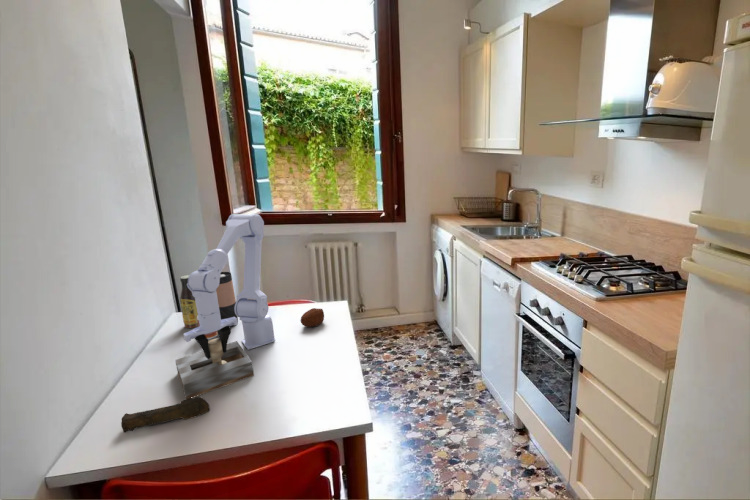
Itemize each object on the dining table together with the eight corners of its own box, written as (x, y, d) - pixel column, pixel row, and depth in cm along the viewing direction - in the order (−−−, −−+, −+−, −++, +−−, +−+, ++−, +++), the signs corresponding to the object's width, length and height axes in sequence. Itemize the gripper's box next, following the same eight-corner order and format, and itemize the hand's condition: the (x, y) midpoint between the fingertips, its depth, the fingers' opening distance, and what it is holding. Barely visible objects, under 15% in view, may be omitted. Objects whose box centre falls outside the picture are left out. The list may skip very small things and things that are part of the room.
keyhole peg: (223, 362, 116) (218, 336, 113) (230, 368, 112) (226, 341, 110) (206, 369, 112) (201, 342, 110) (213, 376, 109) (208, 348, 107)
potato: (328, 325, 140) (327, 309, 138) (304, 332, 136) (302, 315, 134) (321, 319, 146) (320, 303, 144) (298, 325, 142) (296, 309, 140)
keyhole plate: (238, 353, 123) (236, 340, 122) (253, 375, 110) (251, 361, 109) (177, 373, 114) (175, 359, 112) (186, 399, 101) (183, 384, 100)
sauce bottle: (180, 328, 144) (171, 279, 139) (192, 321, 150) (183, 273, 145) (195, 329, 143) (186, 279, 138) (206, 322, 149) (197, 274, 144)
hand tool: (121, 436, 89) (117, 419, 88) (128, 424, 93) (124, 408, 91) (208, 419, 93) (204, 403, 92) (210, 409, 97) (207, 393, 96)
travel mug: (234, 328, 142) (226, 277, 137) (214, 329, 142) (205, 278, 137) (241, 319, 149) (234, 271, 144) (222, 320, 150) (214, 272, 145)
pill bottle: (220, 336, 136) (215, 308, 133) (202, 341, 133) (196, 312, 130) (216, 330, 141) (212, 302, 138) (199, 335, 138) (193, 307, 135)
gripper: (227, 300, 115) (234, 341, 119) (176, 315, 106) (185, 359, 109) (237, 306, 110) (244, 348, 114) (185, 323, 101) (193, 368, 104)
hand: (216, 354), depth 111 cm, fingers closed on keyhole peg, 4 cm apart
